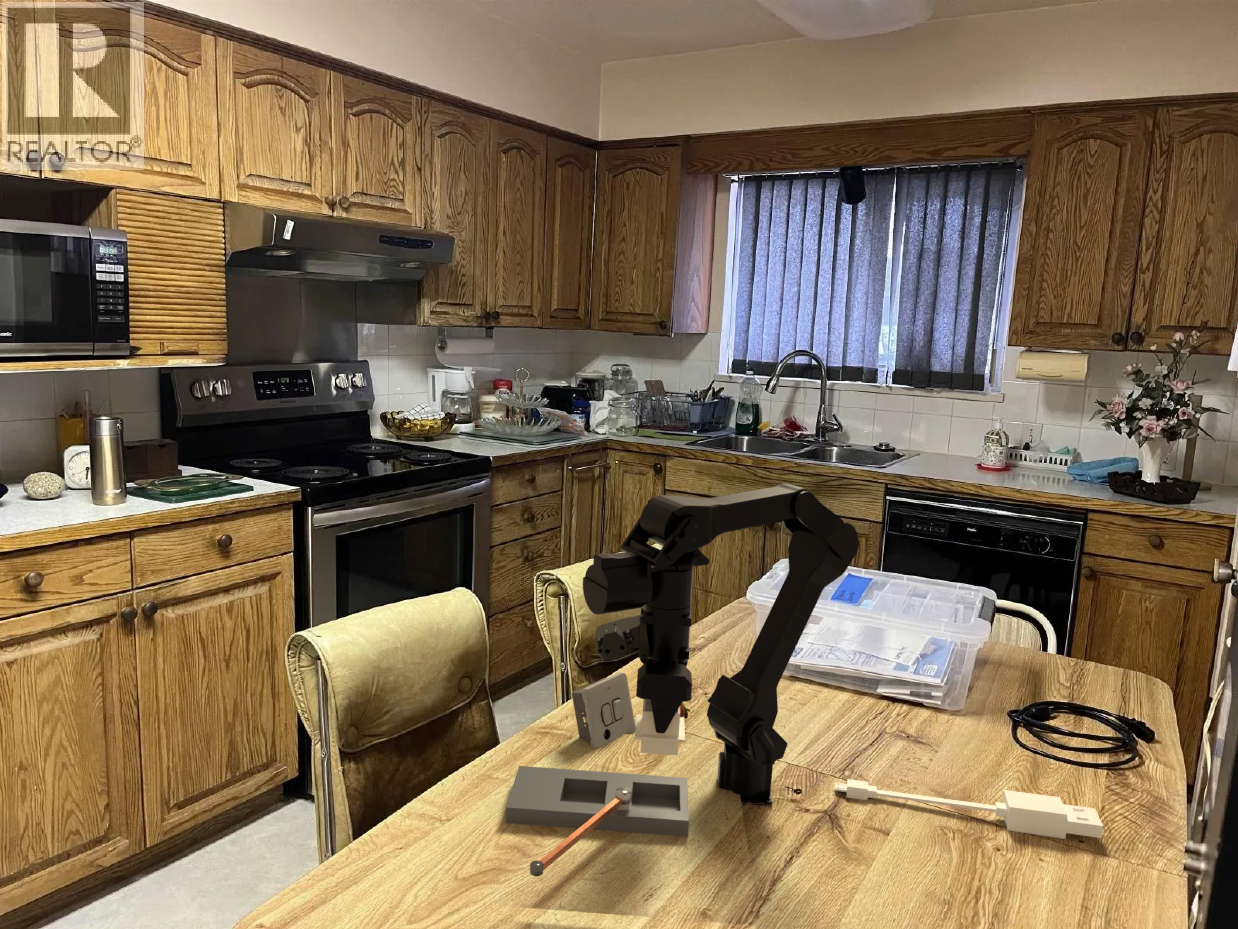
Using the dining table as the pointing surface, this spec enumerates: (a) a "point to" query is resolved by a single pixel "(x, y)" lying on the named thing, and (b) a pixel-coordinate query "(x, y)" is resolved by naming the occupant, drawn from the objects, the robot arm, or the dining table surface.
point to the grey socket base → (598, 800)
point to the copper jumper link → (581, 831)
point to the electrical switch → (604, 710)
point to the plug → (658, 741)
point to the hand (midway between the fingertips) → (660, 723)
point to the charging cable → (1007, 810)
